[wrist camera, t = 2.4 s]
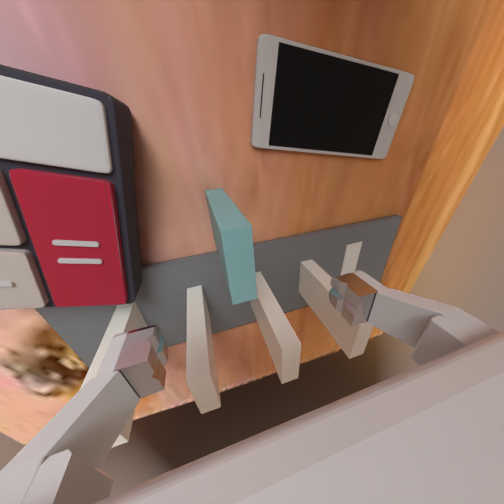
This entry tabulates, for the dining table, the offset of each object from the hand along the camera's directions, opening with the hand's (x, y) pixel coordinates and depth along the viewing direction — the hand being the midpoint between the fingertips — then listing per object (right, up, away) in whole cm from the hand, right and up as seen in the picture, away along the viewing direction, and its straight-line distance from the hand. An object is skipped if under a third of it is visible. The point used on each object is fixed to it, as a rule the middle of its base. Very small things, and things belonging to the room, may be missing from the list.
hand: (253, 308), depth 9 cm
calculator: (-15, +6, +6) cm, 18 cm away
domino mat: (0, -2, +16) cm, 16 cm away
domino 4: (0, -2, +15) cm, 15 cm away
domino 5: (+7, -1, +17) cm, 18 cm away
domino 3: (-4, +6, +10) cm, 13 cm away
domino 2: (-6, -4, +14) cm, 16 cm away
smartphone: (+7, +16, +9) cm, 20 cm away
